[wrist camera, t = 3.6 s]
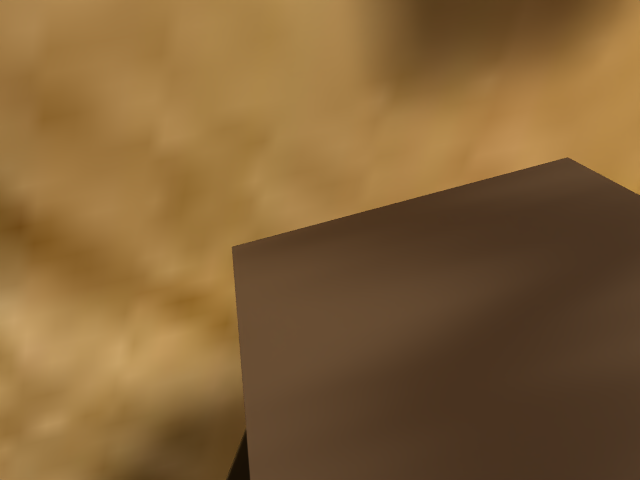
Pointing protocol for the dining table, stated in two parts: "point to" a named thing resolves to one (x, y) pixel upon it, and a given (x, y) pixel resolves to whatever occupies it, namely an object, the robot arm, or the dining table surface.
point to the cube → (449, 336)
